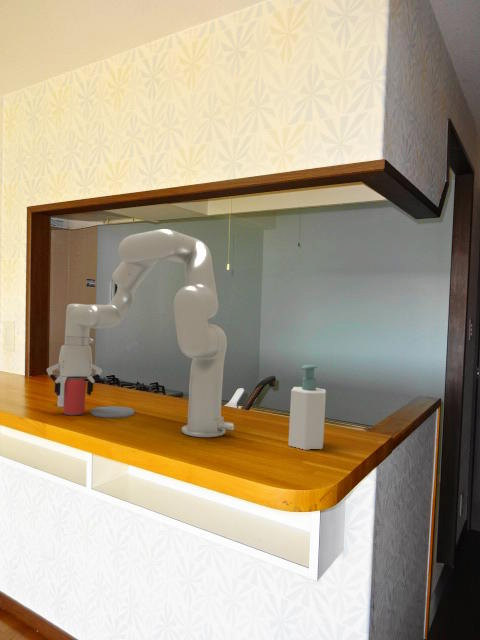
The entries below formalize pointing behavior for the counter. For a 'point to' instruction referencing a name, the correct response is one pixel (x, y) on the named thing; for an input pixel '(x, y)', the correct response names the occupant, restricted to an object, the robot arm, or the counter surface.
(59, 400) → the skincare box
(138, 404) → the counter surface
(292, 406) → the soap bottle
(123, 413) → the slate mat
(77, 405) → the beer can
